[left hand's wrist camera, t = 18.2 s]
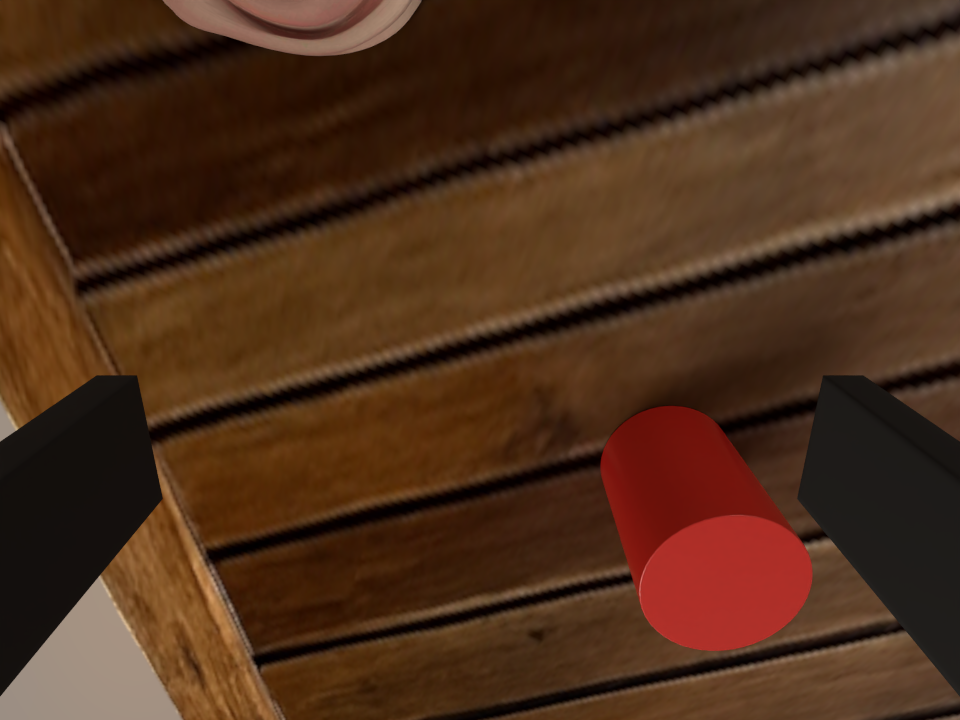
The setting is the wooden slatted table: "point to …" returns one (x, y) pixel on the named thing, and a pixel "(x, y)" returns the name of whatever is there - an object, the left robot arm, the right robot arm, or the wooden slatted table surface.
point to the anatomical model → (300, 22)
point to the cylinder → (701, 532)
